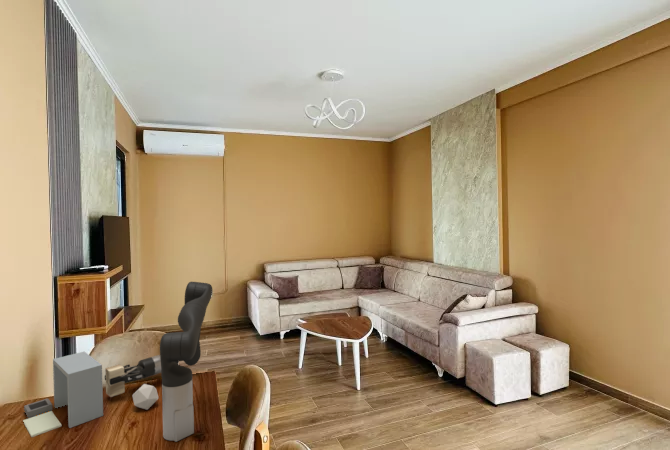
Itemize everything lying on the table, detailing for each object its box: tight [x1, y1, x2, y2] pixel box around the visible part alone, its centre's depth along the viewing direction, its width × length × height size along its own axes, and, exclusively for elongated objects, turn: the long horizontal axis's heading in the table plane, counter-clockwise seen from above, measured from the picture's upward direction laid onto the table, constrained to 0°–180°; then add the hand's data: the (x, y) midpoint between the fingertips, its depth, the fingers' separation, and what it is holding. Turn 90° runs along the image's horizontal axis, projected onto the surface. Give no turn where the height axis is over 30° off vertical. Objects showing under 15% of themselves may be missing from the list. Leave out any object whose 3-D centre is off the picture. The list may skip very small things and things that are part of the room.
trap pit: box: [23, 397, 54, 419], centre depth 133 cm, size 7×7×2 cm
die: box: [132, 383, 159, 411], centre depth 135 cm, size 8×9×10 cm
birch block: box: [105, 363, 126, 398], centre depth 142 cm, size 5×5×10 cm
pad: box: [22, 411, 62, 438], centre depth 124 cm, size 14×8×1 cm, turn 50°
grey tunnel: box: [52, 351, 104, 429], centre depth 132 cm, size 21×10×18 cm, turn 50°
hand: (107, 380), depth 140 cm, fingers closed on birch block, 5 cm apart
